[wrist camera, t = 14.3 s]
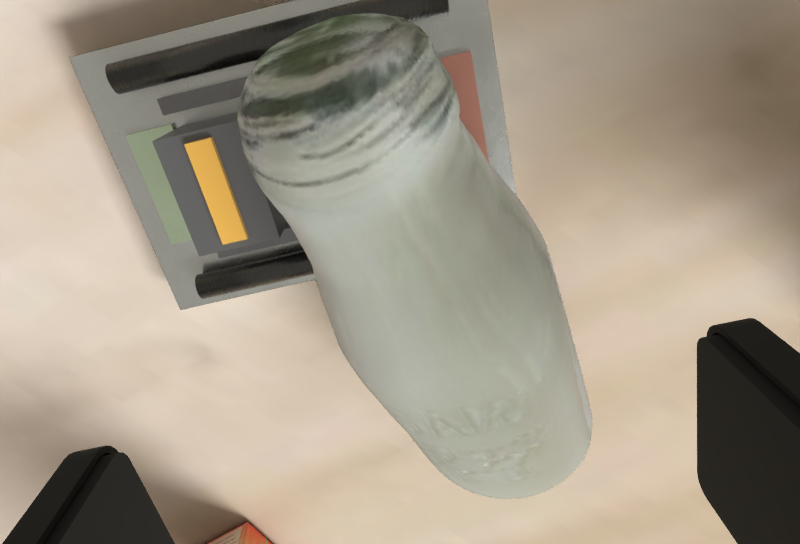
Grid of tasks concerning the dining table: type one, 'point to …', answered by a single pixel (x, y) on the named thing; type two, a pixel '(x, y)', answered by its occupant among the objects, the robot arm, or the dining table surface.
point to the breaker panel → (219, 95)
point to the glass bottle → (419, 252)
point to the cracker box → (241, 536)
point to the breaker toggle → (217, 186)
